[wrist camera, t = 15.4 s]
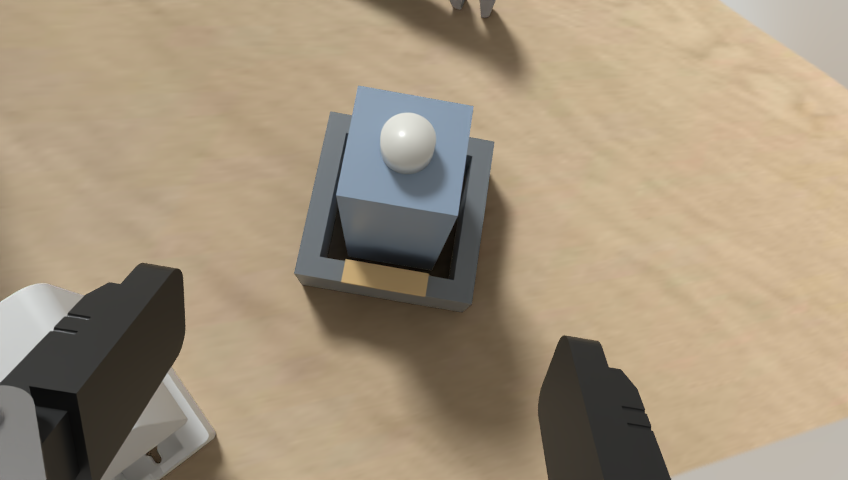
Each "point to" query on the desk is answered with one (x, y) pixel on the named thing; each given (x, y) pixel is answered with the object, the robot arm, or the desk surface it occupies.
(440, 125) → the blue gray block
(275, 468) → the desk surface
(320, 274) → the pocket plate
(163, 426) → the security camera
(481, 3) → the caliper
